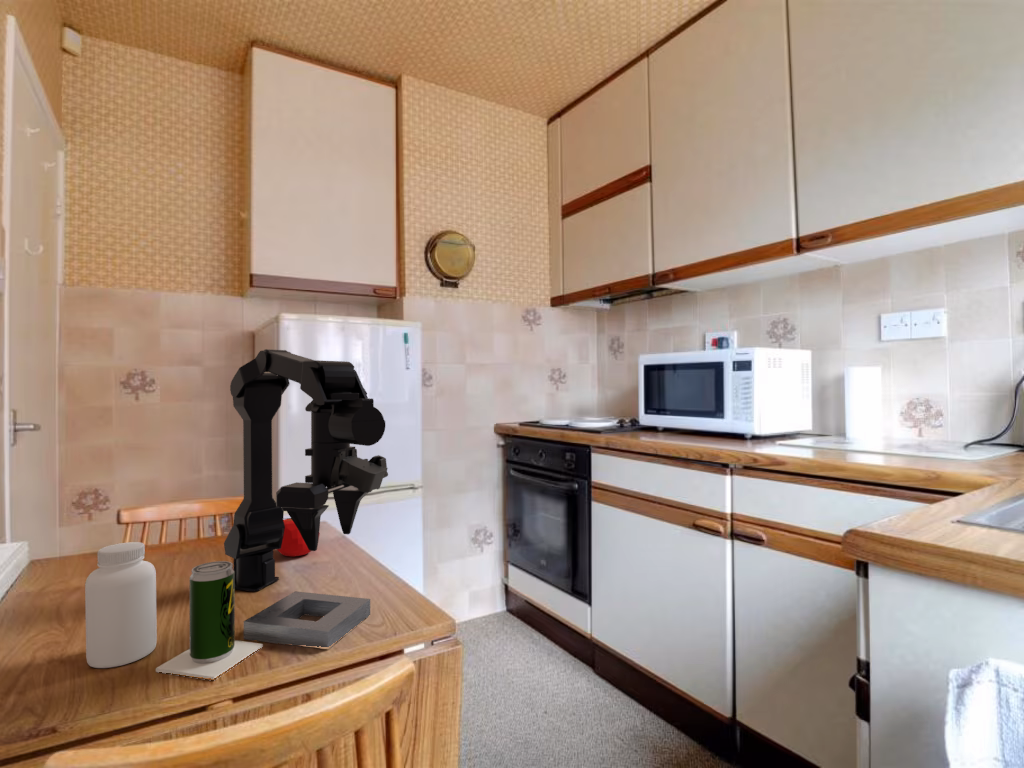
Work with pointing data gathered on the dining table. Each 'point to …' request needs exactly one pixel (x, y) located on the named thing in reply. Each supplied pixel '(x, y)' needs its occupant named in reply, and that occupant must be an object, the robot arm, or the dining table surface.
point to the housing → (286, 627)
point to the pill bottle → (120, 607)
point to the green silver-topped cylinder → (212, 611)
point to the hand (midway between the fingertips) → (330, 541)
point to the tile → (211, 670)
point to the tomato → (292, 540)
